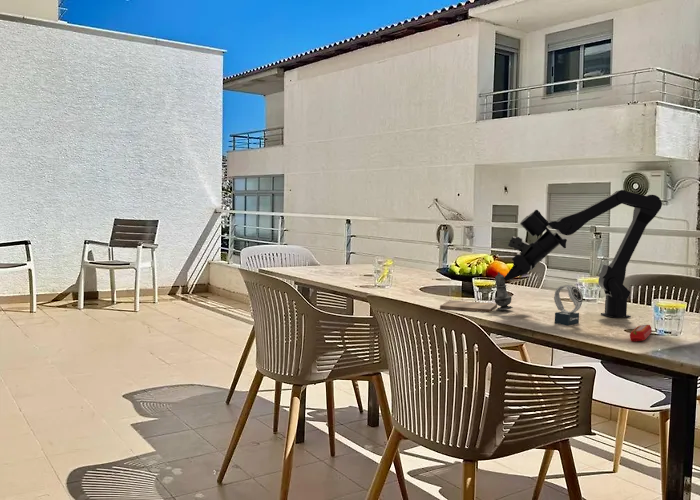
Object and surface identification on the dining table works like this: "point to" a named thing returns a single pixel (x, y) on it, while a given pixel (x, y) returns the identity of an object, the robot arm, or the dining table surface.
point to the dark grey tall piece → (502, 293)
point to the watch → (563, 316)
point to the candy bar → (640, 333)
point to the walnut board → (469, 306)
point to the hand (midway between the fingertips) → (505, 279)
